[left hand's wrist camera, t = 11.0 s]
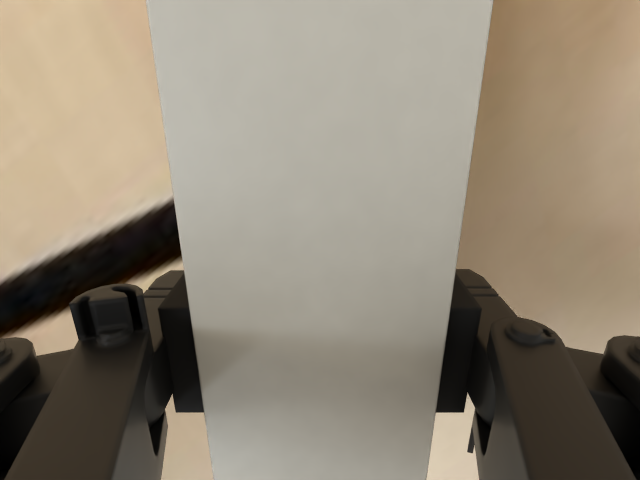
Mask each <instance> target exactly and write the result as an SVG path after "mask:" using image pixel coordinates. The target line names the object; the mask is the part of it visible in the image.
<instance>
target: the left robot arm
mask: <svg viewBox="0 0 640 480" xmlns="http://www.w3.org/2000/svg"><path fill="white" fill-rule="evenodd" d="M69 306H70V309H71V313H72V317H73V320H74V324H75V328H76V332H77V335H78V339H79V340H78V342H77V344H76V346H75V348H74V349H71V350H66V351H61V352H56V353H50V354H45V355H40V356H36V353H35V350H34V347H33V344H32V342H30V341H29V340H27V339H25V338H17V337H14V338H5V339H3V338H2V339H0V480H161V475H162V467H163V459H164V452H165V444H166V436H167V429H168V424H167V418H166V412H165V408H166V406H167V404H168V402H169V400H170V397H171V395H172V393H173V399H174V404H175V410H176V412H204V407H203V400H202V393H201V386H200V379H199V372H198V365H197V358H196V351H195V344H194V337H193V330H192V323H191V315H190V308H189V301H188V294H187V287H186V280H185V273H184V271H169V272H167V273H166V274H164V275H162V276H160V277H159V278H157V279H156V280H155V281H154V282H153V283H152V285H151V286H150V287H149V288H148V290H146V291H145V293H144V294H143V290H142V289H141V288H139V287H138V286H136V285H131V284H112V285H107V286H102V287H98V288H95V289H92V290H89V291H87V292H85V293H83V294H81V295H79V296H77V297H76V298H75V299H74V300H73V301H71V302H70V303H69ZM467 392H468V394H469V396H470V398H471V400H472V402H473V404H474V406H475V412H474V418H473V423H472V428H471V434H470V439H469V444H468V451H467V452H469V453H473V449H474V445H475V451H476V458H477V466H478V474H479V480H640V337H634V336H625V335H624V336H616V337H613V338H611V339H610V340H609V341H608V342H607V345H606V348H605V352H604V354H599V353H594V352H588V351H583V350H578V349H572V348H568V347H565V345H564V343H563V342H562V340H561V338H560V337H559V336H558V335H557V334H556V333H555V332H554V331H553V330H551V329H550V328H548V327H546V326H545V325H543V324H540V323H538V322H535V321H533V320H529V319H524V318H520V317H517V315H516V314H515V313H514V312H513V311H512V310H511V309H510V307H509V306H508V305H507V304H506V303H505V302H504V300H503V299H502V298H501V297H498V294H497V292H496V291H495V290H494V289H492V288H491V286H490V284H489V283H488V282H487V281H486V280H485V279H484V278H483V277H482V276H480V275H478V274H477V273H475V272H473V271H471V270H470V269H456V271H455V278H454V285H453V293H452V300H451V307H450V314H449V321H448V328H447V335H446V342H445V350H444V357H443V364H442V371H441V378H440V385H439V392H438V400H437V407H436V412H464V408H465V403H466V397H467Z"/></svg>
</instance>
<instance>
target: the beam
mask: <svg viewBox="0 0 640 480" xmlns="http://www.w3.org/2000/svg"><path fill="white" fill-rule="evenodd" d="M146 5H147V12H148V19H149V26H150V33H151V40H152V47H153V54H154V61H155V69H156V76H157V83H158V90H159V97H160V104H161V111H162V118H163V125H164V132H165V139H166V146H167V153H168V160H169V167H170V174H171V181H172V188H173V196H174V203H175V210H176V217H177V224H178V231H179V238H180V245H181V252H182V259H183V266H184V273H185V280H186V287H187V294H188V301H189V308H190V315H191V323H192V330H193V337H194V344H195V351H196V358H197V365H198V372H199V379H200V386H201V393H202V400H203V407H204V414H205V421H206V428H207V435H208V442H209V449H210V457H211V464H212V471H213V478H214V480H426V478H427V471H428V464H429V457H430V450H431V442H432V435H433V428H434V421H435V414H436V407H437V400H438V392H439V385H440V378H441V371H442V364H443V357H444V350H445V342H446V335H447V328H448V321H449V314H450V307H451V300H452V293H453V285H454V278H455V271H456V264H457V257H458V250H459V243H460V235H461V228H462V221H463V214H464V207H465V200H466V193H467V186H468V178H469V171H470V164H471V157H472V150H473V143H474V136H475V128H476V121H477V114H478V107H479V100H480V93H481V86H482V79H483V71H484V64H485V57H486V50H487V43H488V36H489V29H490V21H491V14H492V7H493V0H146Z"/></svg>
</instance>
